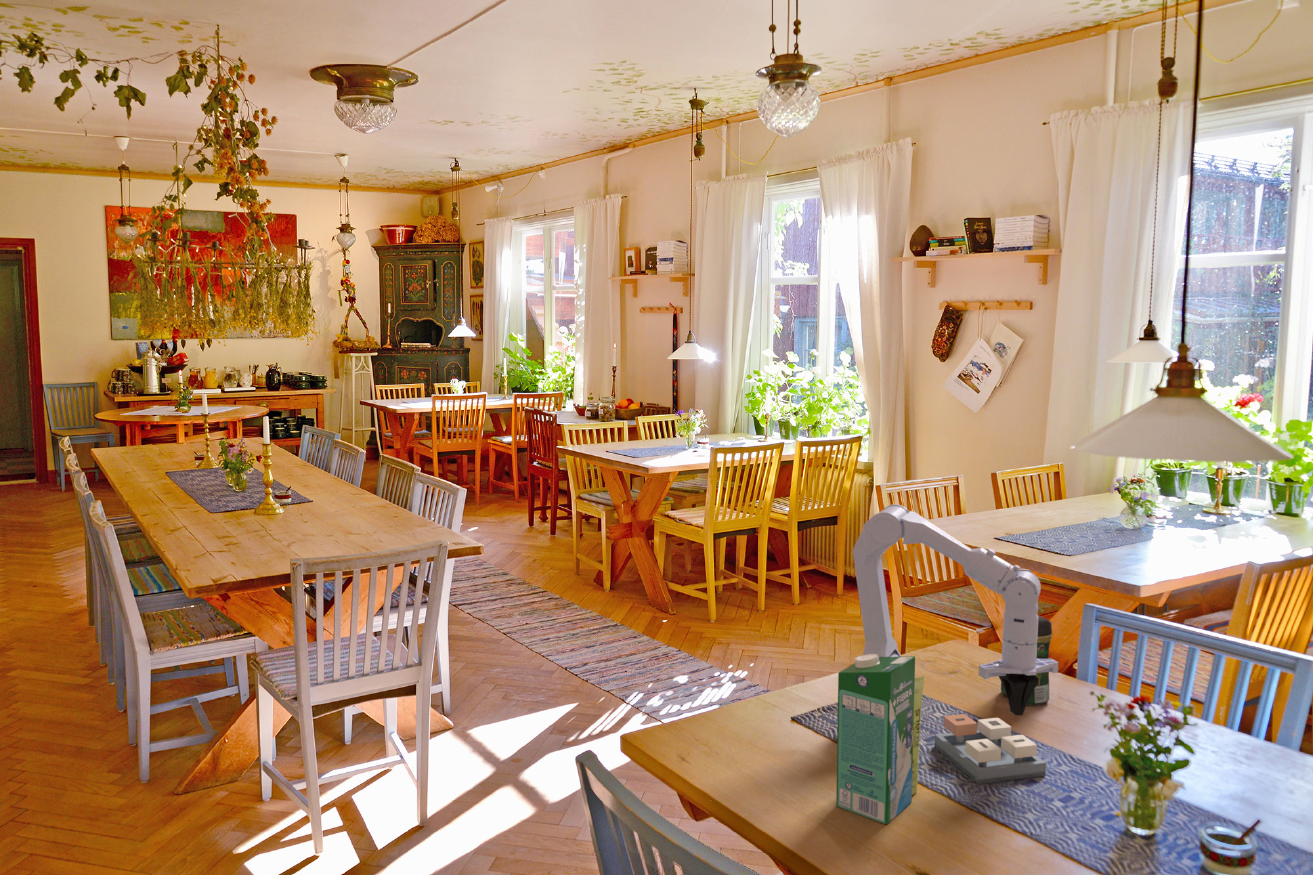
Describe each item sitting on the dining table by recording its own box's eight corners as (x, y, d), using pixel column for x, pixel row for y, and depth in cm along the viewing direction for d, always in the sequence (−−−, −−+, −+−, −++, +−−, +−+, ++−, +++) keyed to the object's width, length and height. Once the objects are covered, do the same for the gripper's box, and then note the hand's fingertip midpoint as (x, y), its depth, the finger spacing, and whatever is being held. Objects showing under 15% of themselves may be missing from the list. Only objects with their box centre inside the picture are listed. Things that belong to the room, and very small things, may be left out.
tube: (912, 801, 150) (915, 687, 148) (881, 793, 152) (884, 681, 150) (920, 786, 155) (924, 675, 153) (890, 779, 157) (894, 670, 155)
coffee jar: (993, 691, 196) (996, 607, 194) (1025, 687, 198) (1028, 604, 196) (1022, 709, 186) (1026, 621, 184) (1055, 704, 188) (1059, 617, 186)
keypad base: (977, 784, 156) (978, 770, 155) (934, 746, 170) (934, 734, 169) (1045, 775, 158) (1045, 762, 158) (997, 739, 172) (997, 727, 172)
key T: (1014, 769, 158) (1015, 746, 158) (1000, 758, 163) (1001, 736, 162) (1036, 766, 159) (1037, 744, 159) (1021, 755, 163) (1022, 734, 163)
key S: (978, 773, 157) (979, 750, 157) (965, 762, 161) (965, 740, 161) (1000, 771, 158) (1001, 748, 157) (986, 760, 162) (987, 738, 161)
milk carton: (861, 785, 156) (864, 643, 153) (911, 802, 150) (915, 655, 147) (835, 806, 149) (838, 658, 146) (886, 825, 143) (890, 671, 140)
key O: (990, 750, 166) (990, 728, 165) (977, 740, 170) (977, 719, 169) (1010, 747, 167) (1011, 726, 166) (997, 737, 171) (998, 716, 170)
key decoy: (955, 746, 164) (956, 724, 164) (943, 736, 168) (943, 715, 168) (976, 744, 165) (977, 722, 165) (963, 734, 169) (964, 713, 169)
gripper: (995, 650, 156) (992, 726, 158) (1070, 644, 159) (1067, 718, 161) (973, 636, 163) (970, 709, 165) (1045, 631, 166) (1042, 702, 167)
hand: (1016, 713), depth 163 cm, fingers closed
